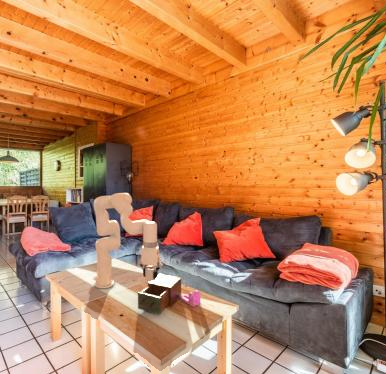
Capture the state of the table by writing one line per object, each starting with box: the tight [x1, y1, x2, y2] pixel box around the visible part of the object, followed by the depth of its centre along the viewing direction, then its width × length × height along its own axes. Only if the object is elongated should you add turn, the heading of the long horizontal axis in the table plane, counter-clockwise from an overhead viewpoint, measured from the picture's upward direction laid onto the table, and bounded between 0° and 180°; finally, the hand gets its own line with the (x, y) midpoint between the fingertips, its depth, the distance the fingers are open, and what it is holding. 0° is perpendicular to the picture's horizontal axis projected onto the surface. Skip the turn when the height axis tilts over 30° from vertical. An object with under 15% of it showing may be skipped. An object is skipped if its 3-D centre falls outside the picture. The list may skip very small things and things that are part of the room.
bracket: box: [179, 290, 201, 307], centre depth 149 cm, size 13×6×7 cm, turn 34°
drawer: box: [137, 285, 170, 316], centre depth 139 cm, size 19×13×9 cm
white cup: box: [144, 265, 155, 282], centre depth 141 cm, size 6×6×6 cm
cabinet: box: [147, 273, 182, 307], centre depth 152 cm, size 16×15×11 cm
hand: (150, 276), depth 141 cm, fingers closed on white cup, 5 cm apart
